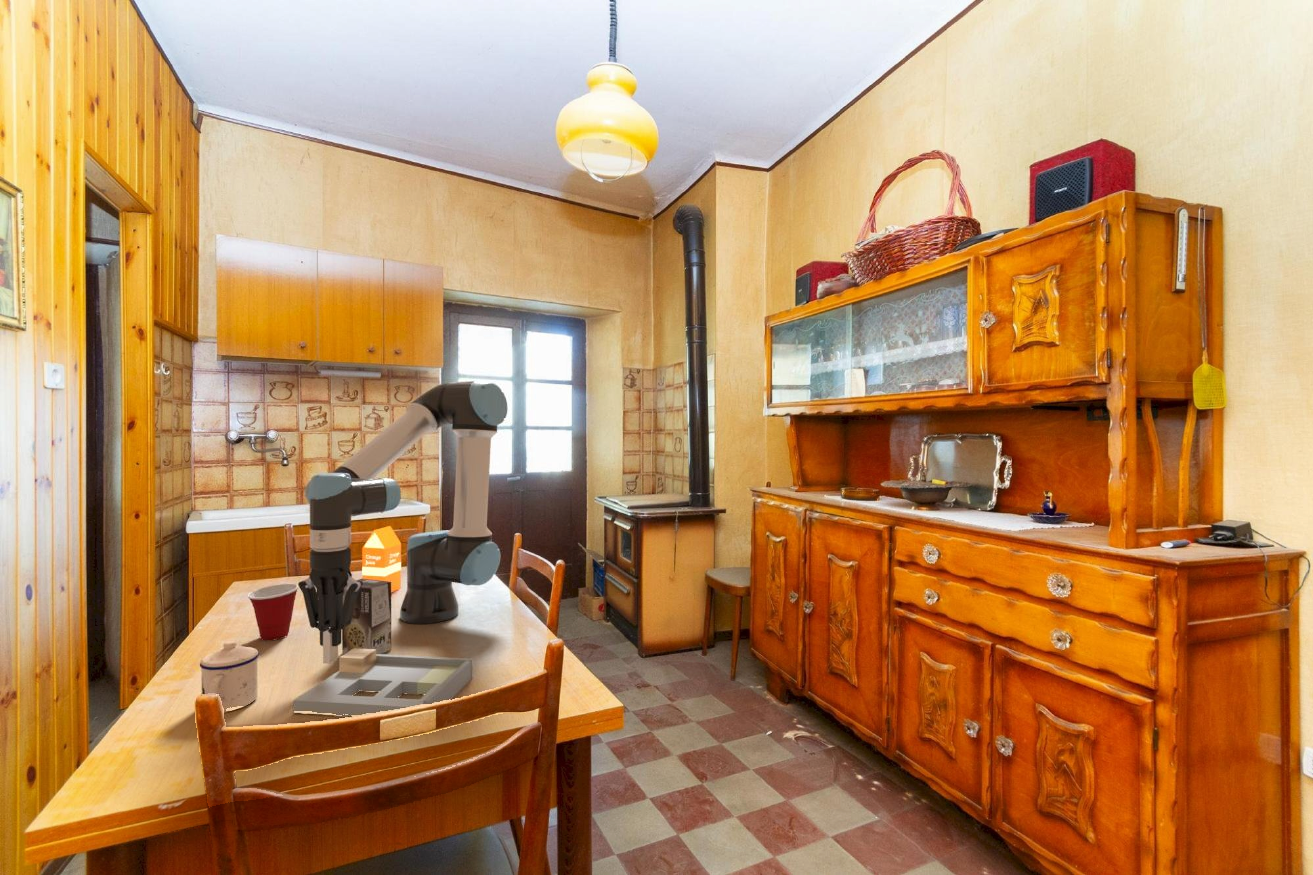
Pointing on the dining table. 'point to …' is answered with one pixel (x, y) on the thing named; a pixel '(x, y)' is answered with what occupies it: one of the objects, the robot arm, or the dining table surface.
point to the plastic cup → (273, 609)
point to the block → (357, 660)
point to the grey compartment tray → (388, 685)
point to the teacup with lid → (231, 674)
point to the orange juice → (382, 557)
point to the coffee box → (370, 618)
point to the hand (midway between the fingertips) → (330, 660)
